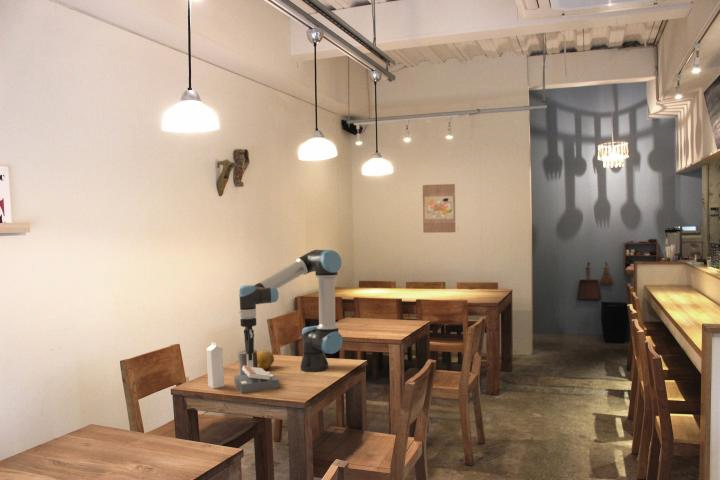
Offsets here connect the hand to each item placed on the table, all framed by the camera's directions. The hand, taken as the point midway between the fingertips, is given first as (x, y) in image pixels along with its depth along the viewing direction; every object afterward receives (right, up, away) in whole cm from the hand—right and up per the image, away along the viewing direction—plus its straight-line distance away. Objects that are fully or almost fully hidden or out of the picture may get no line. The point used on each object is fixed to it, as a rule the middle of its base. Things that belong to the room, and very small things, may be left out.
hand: (250, 366), depth 288 cm
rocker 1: (-1, -5, +13) cm, 14 cm away
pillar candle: (-5, -11, +25) cm, 28 cm away
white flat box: (+4, -5, +2) cm, 6 cm away
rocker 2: (+1, -5, +7) cm, 9 cm away
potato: (0, -11, +44) cm, 45 cm away
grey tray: (+2, -11, +8) cm, 14 cm away
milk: (-19, -12, +10) cm, 24 cm away
